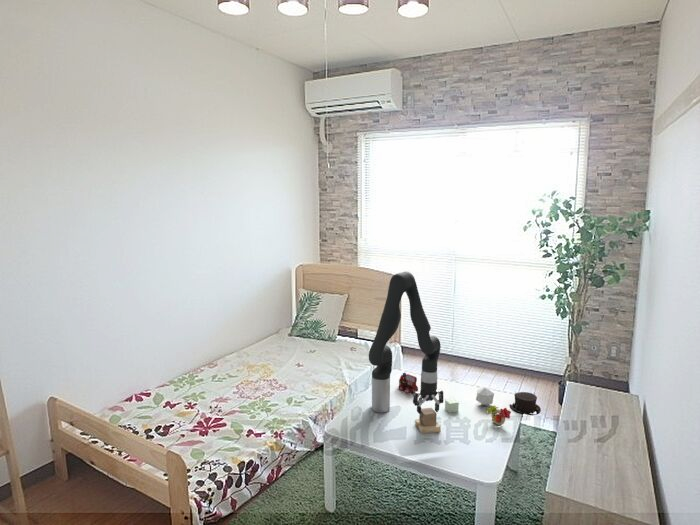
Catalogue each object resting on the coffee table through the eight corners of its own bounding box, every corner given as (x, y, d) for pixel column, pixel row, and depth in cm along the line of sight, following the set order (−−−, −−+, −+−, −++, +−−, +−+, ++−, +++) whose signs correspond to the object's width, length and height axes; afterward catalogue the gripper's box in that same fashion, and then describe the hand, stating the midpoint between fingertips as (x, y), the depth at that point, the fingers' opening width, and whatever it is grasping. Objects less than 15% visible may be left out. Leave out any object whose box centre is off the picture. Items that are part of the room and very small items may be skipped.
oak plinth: (415, 424, 217) (415, 419, 217) (432, 422, 219) (433, 417, 219) (422, 433, 208) (422, 428, 208) (440, 431, 210) (440, 426, 210)
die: (496, 407, 235) (497, 389, 234) (482, 410, 232) (483, 391, 230) (486, 401, 243) (487, 383, 241) (472, 403, 239) (473, 385, 238)
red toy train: (404, 386, 262) (404, 369, 261) (420, 393, 253) (420, 375, 251) (395, 389, 258) (395, 372, 257) (411, 396, 248) (411, 378, 247)
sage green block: (444, 408, 234) (445, 399, 233) (453, 407, 235) (454, 398, 234) (449, 413, 229) (449, 403, 228) (458, 412, 230) (458, 402, 230)
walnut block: (419, 420, 215) (419, 408, 215) (431, 419, 217) (431, 407, 216) (424, 426, 210) (424, 414, 209) (436, 425, 211) (436, 413, 210)
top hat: (525, 400, 243) (526, 382, 242) (547, 412, 230) (548, 392, 228) (503, 405, 238) (504, 386, 236) (524, 418, 224) (525, 397, 223)
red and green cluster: (491, 418, 223) (492, 400, 222) (513, 426, 215) (514, 407, 214) (485, 422, 219) (485, 404, 218) (506, 430, 211) (507, 412, 210)
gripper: (440, 375, 216) (438, 407, 218) (411, 377, 213) (410, 410, 215) (446, 381, 209) (445, 414, 211) (417, 383, 205) (416, 417, 208)
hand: (427, 412), depth 213 cm, fingers open, 8 cm apart
